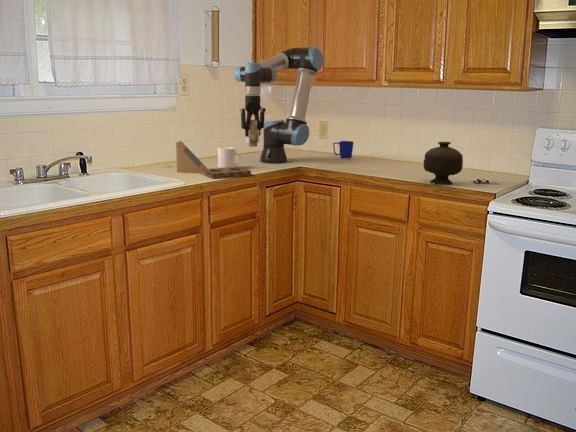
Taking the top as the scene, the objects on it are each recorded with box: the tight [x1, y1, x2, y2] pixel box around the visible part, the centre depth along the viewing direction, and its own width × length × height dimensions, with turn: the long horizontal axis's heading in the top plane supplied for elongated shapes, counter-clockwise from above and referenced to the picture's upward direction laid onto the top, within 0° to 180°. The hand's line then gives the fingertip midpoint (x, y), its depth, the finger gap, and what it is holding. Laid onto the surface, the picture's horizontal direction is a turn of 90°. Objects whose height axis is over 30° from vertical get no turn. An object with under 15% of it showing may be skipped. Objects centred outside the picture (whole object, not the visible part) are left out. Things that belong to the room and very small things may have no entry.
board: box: [200, 166, 252, 180], centre depth 278 cm, size 20×14×2 cm
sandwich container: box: [175, 140, 209, 174], centre depth 285 cm, size 9×15×15 cm, turn 84°
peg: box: [248, 119, 258, 148], centre depth 286 cm, size 4×4×13 cm
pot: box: [423, 141, 464, 185], centre depth 268 cm, size 18×18×20 cm
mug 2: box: [332, 140, 354, 159], centre depth 345 cm, size 8×12×10 cm
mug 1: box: [217, 146, 242, 168], centre depth 297 cm, size 9×12×11 cm
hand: (252, 142), depth 287 cm, fingers closed on peg, 4 cm apart
